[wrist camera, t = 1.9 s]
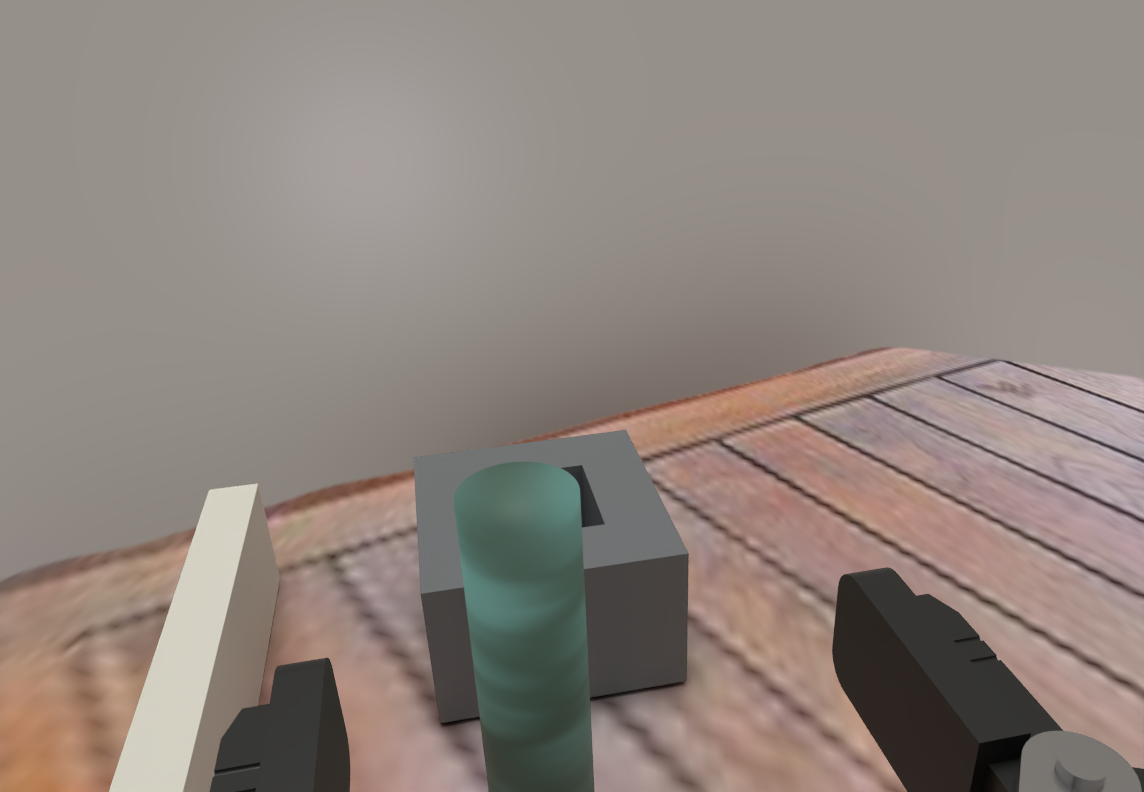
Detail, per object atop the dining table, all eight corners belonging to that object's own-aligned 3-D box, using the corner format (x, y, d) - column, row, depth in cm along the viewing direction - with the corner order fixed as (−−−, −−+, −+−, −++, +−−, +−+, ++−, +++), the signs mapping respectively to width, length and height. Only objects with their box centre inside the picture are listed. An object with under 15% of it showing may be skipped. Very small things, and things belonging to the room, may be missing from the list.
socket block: (440, 723, 39) (420, 593, 36) (429, 569, 48) (413, 457, 45) (686, 681, 40) (688, 553, 37) (628, 540, 50) (625, 429, 47)
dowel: (504, 923, 31) (457, 538, 24) (493, 833, 34) (449, 470, 27) (607, 901, 31) (591, 519, 24) (587, 814, 35) (568, 455, 27)
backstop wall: (132, 1005, 29) (78, 883, 26) (234, 584, 48) (209, 489, 46) (209, 989, 29) (164, 867, 27) (280, 577, 49) (258, 483, 46)
